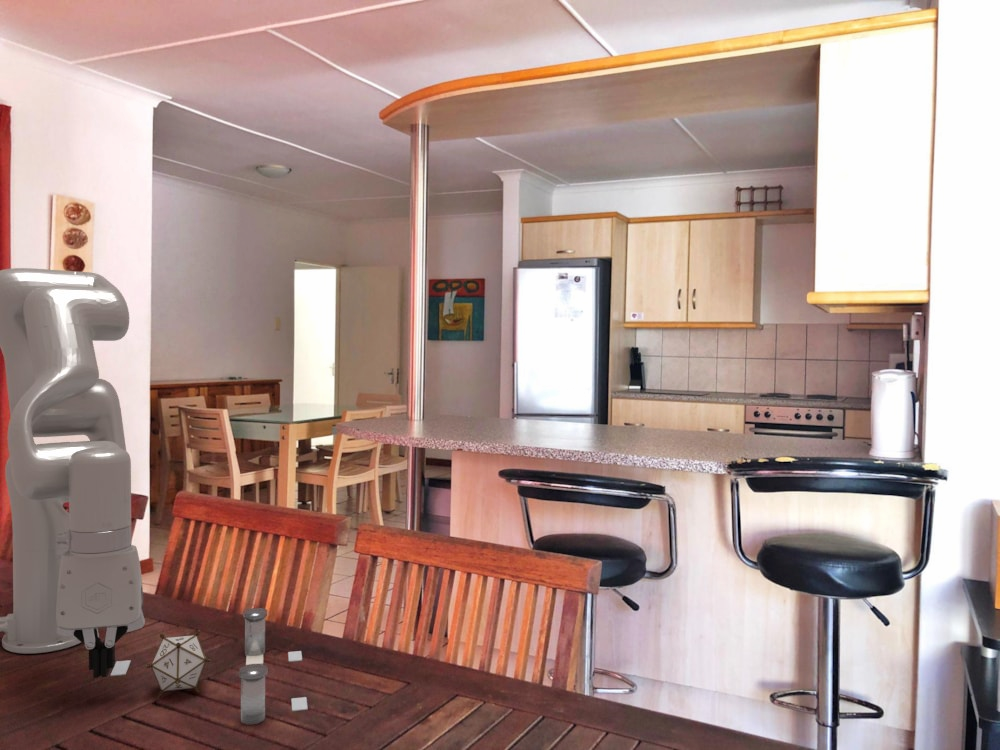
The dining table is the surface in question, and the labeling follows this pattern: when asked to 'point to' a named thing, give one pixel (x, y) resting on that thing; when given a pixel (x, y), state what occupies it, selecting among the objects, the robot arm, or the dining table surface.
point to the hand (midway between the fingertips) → (102, 673)
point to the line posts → (253, 668)
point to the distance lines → (297, 703)
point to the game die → (178, 663)
